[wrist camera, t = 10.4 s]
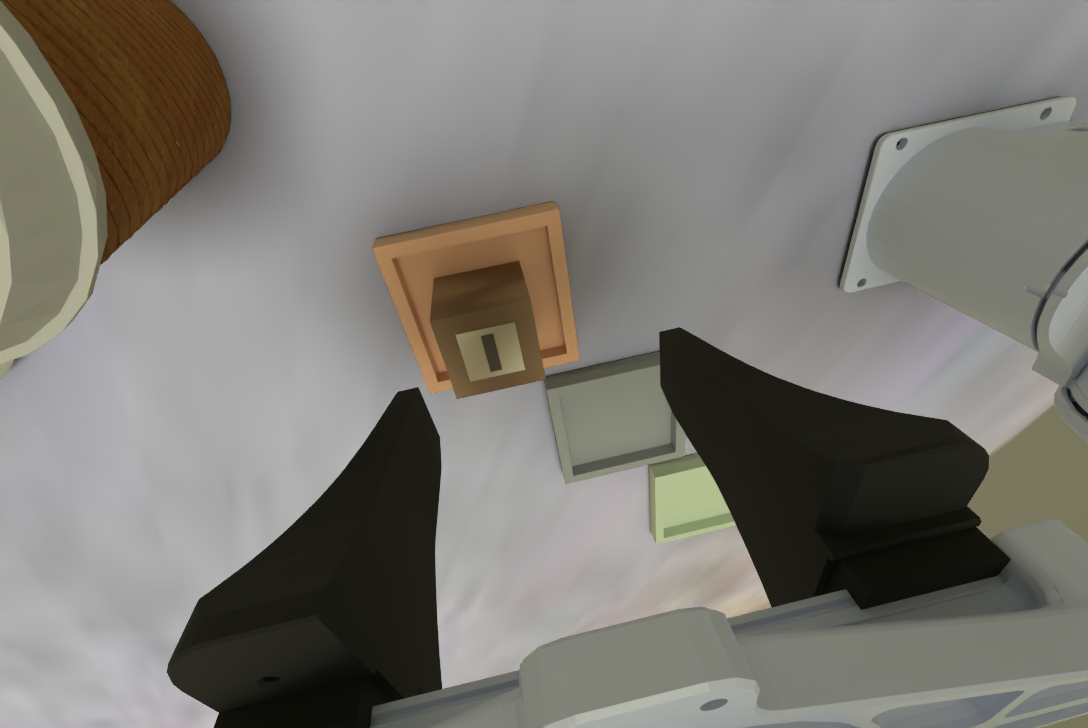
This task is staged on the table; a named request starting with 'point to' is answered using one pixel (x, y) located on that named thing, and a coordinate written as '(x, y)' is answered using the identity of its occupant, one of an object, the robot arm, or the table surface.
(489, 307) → the letter cube
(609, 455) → the slate dish
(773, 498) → the robot arm
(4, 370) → the vodka
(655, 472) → the sage dish
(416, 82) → the table surface
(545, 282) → the terracotta dish
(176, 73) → the disposable coffee cup
